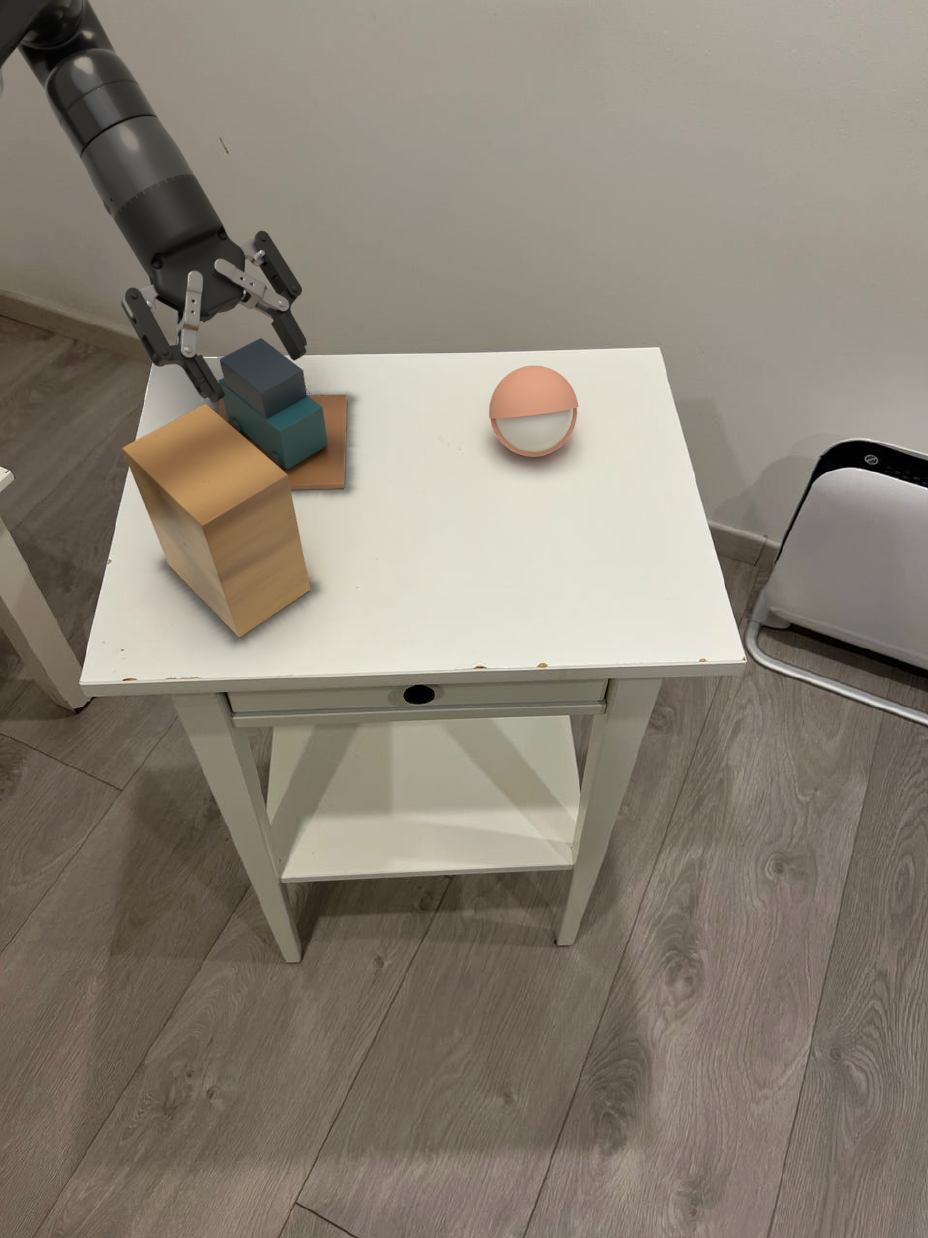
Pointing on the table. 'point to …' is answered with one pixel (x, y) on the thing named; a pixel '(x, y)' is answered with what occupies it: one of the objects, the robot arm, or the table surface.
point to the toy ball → (533, 411)
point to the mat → (326, 463)
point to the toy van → (272, 403)
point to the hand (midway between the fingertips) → (260, 377)
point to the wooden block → (221, 517)
